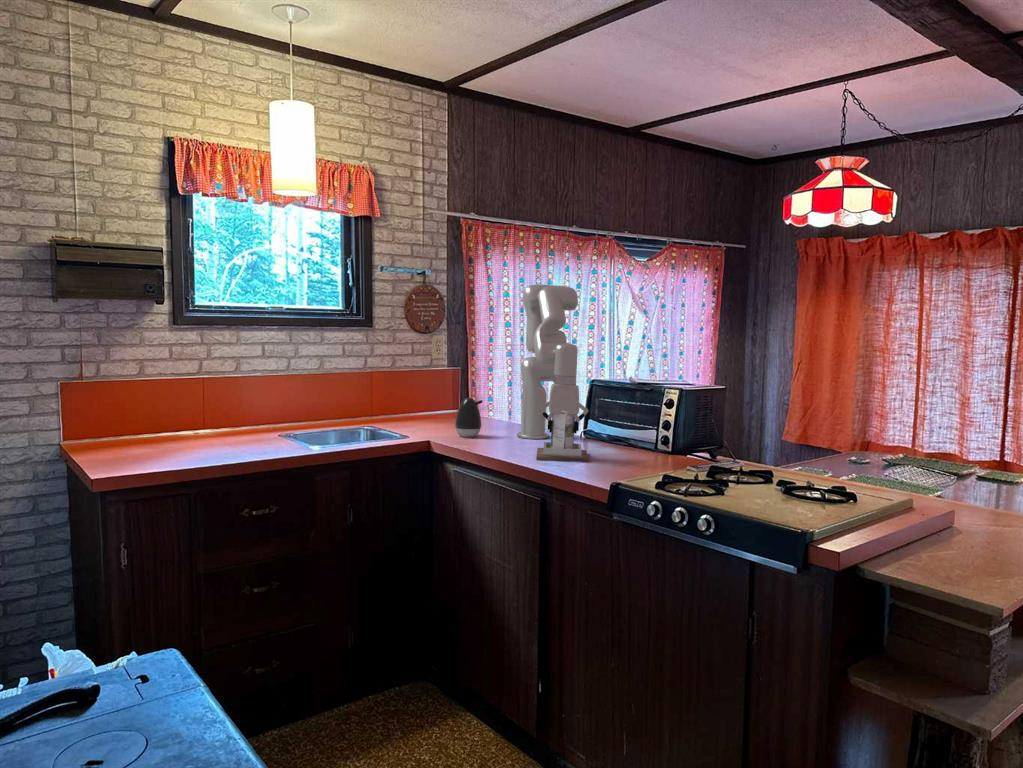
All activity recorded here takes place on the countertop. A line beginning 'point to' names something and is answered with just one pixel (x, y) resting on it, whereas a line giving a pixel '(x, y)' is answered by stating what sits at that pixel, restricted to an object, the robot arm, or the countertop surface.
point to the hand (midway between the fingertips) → (562, 432)
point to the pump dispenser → (468, 418)
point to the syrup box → (562, 430)
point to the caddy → (562, 453)
